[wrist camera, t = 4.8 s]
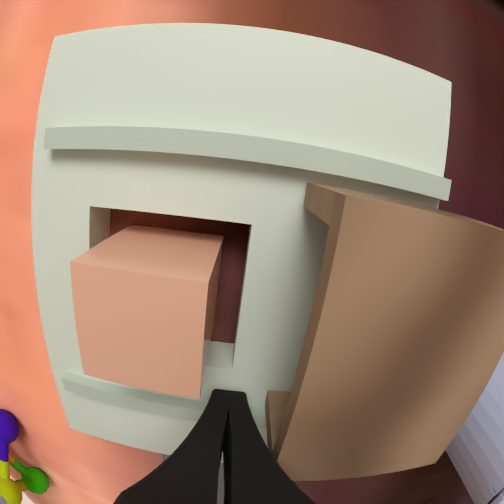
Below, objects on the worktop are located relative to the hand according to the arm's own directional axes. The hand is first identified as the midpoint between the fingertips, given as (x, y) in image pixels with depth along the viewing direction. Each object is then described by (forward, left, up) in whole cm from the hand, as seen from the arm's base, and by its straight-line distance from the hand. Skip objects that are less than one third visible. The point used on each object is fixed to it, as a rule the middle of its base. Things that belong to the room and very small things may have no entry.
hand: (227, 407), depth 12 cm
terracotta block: (+3, -4, -3) cm, 6 cm away
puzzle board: (+1, -4, -3) cm, 5 cm away
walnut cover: (-5, -4, -1) cm, 7 cm away
